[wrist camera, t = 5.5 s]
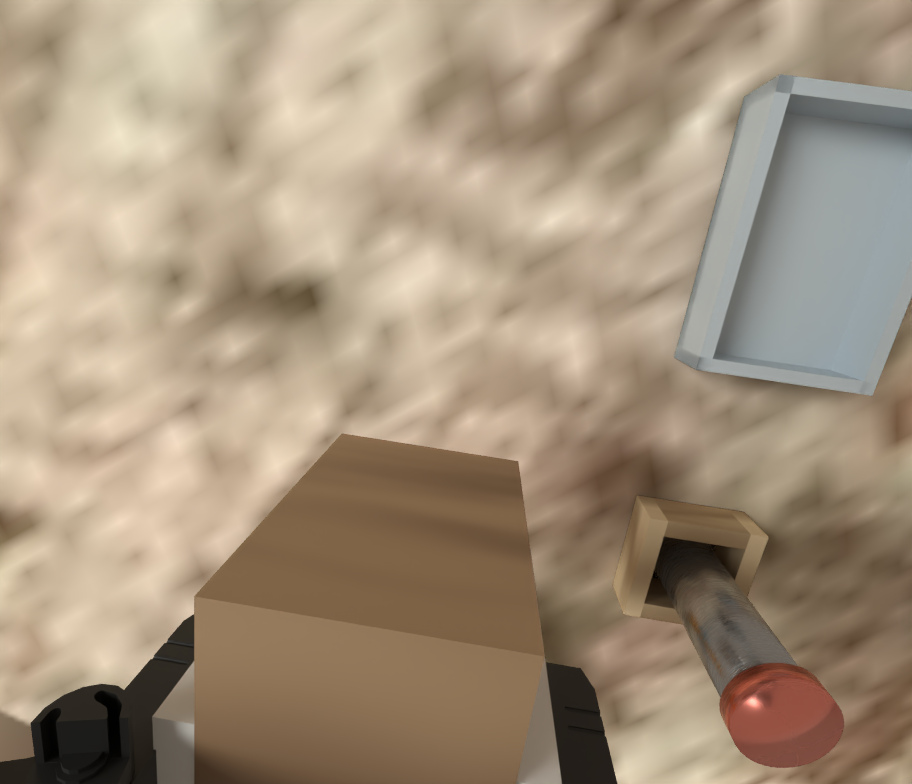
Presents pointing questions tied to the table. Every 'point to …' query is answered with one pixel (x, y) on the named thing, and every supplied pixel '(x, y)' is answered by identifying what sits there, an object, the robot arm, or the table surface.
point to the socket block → (665, 518)
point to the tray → (808, 239)
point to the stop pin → (747, 663)
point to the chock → (373, 627)
